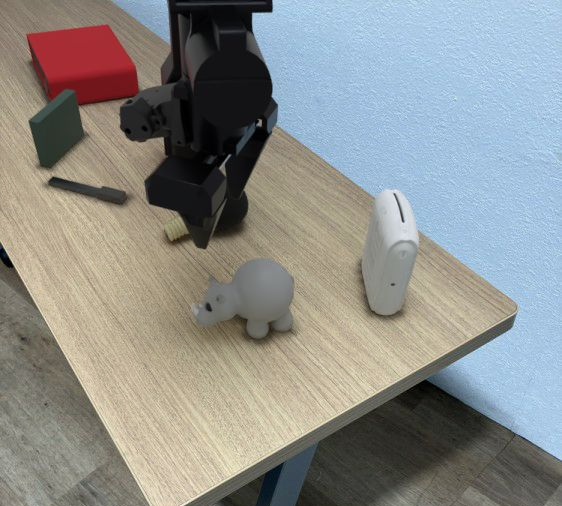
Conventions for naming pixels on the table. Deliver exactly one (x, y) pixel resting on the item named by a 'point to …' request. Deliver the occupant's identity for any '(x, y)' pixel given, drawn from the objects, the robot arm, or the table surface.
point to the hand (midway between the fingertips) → (218, 221)
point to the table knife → (90, 190)
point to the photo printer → (389, 252)
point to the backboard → (56, 128)
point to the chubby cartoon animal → (250, 298)
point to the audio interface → (83, 63)
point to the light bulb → (229, 217)
